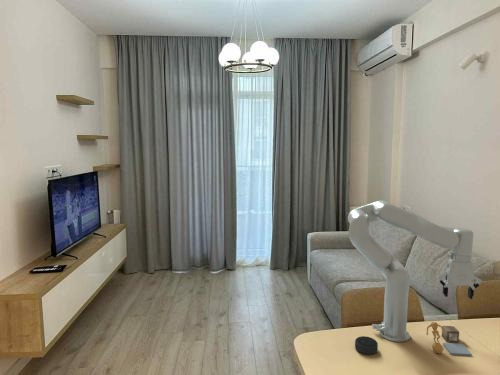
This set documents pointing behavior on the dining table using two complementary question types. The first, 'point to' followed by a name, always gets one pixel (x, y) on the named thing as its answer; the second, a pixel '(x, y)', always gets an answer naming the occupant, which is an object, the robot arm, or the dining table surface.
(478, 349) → the dining table surface
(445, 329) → the marked cube
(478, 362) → the dining table surface
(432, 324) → the figurine
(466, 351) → the rubber mat
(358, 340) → the smart speaker
